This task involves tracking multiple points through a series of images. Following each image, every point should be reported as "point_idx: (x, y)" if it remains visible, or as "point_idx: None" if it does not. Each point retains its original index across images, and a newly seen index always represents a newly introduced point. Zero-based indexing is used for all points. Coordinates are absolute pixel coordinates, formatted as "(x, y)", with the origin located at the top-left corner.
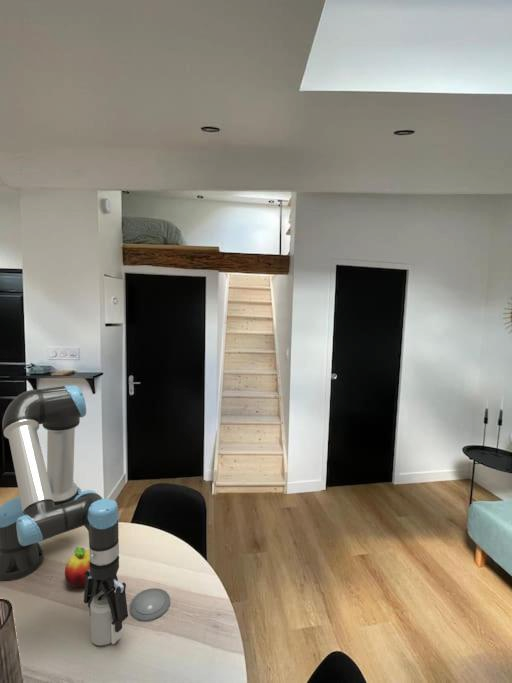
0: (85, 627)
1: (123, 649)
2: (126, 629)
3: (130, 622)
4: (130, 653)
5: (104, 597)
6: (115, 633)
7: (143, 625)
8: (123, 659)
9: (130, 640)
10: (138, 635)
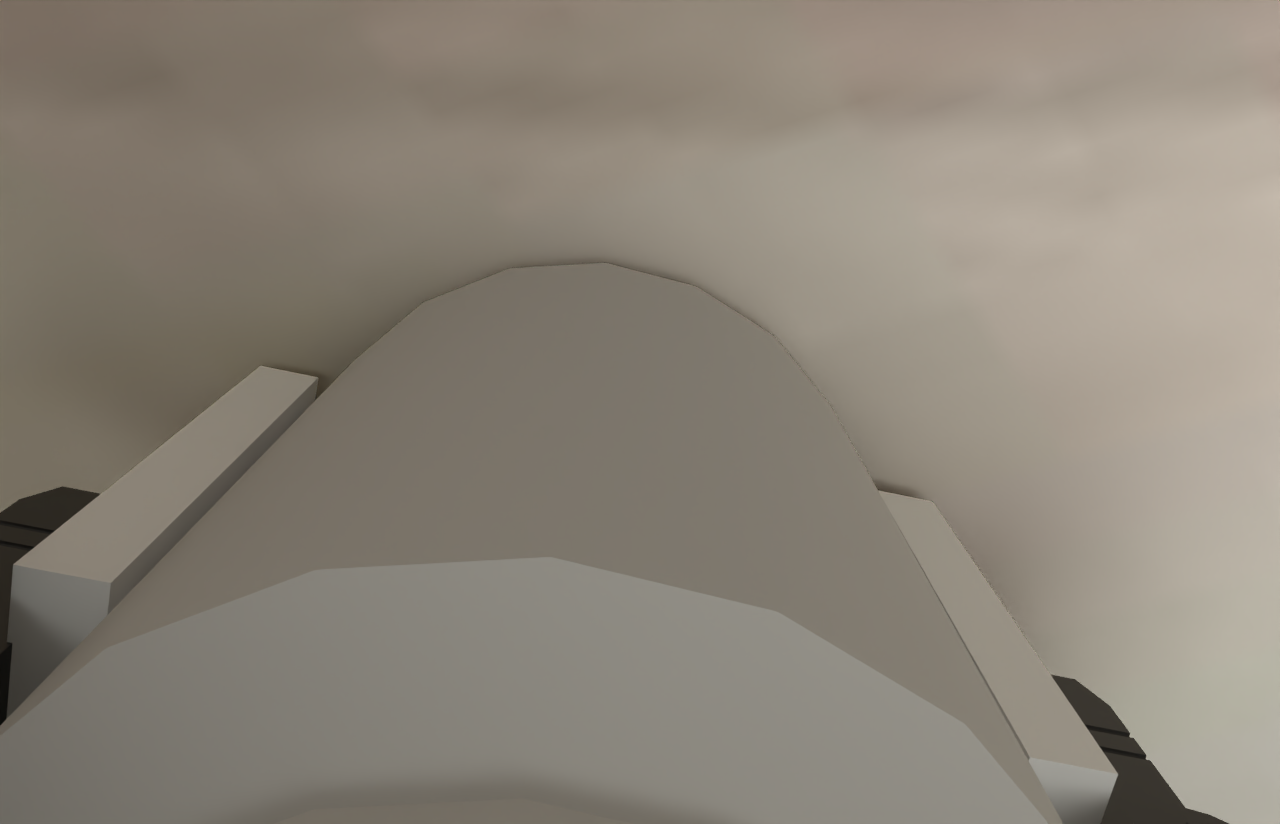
0: (42, 467)
1: (1088, 657)
2: (904, 264)
3: (891, 74)
4: (1257, 687)
5: (139, 600)
6: None
7: (1228, 58)
8: (1188, 808)
9: (1124, 464)
10: (1233, 319)
